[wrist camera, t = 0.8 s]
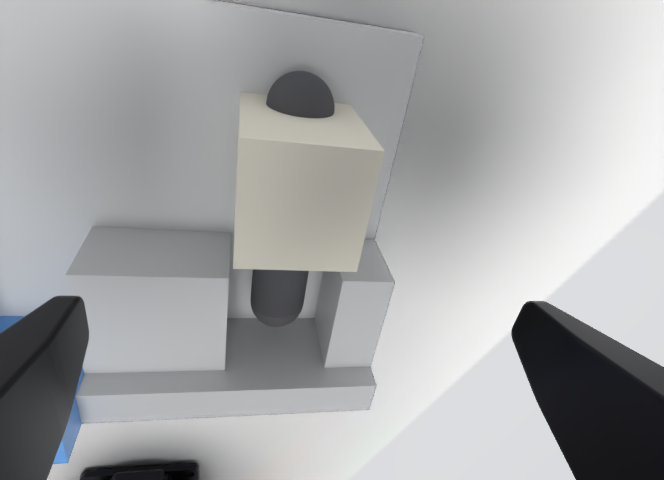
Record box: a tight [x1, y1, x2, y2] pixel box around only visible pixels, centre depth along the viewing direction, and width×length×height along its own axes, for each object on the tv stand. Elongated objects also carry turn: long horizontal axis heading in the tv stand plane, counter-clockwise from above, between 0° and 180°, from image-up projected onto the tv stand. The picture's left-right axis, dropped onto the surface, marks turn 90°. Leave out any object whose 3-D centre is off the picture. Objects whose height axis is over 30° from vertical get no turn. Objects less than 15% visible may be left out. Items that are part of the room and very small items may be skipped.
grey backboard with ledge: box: [0, 0, 424, 464], centre depth 14 cm, size 14×18×6 cm
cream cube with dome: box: [233, 71, 385, 327], centre depth 15 cm, size 10×4×4 cm, turn 171°
